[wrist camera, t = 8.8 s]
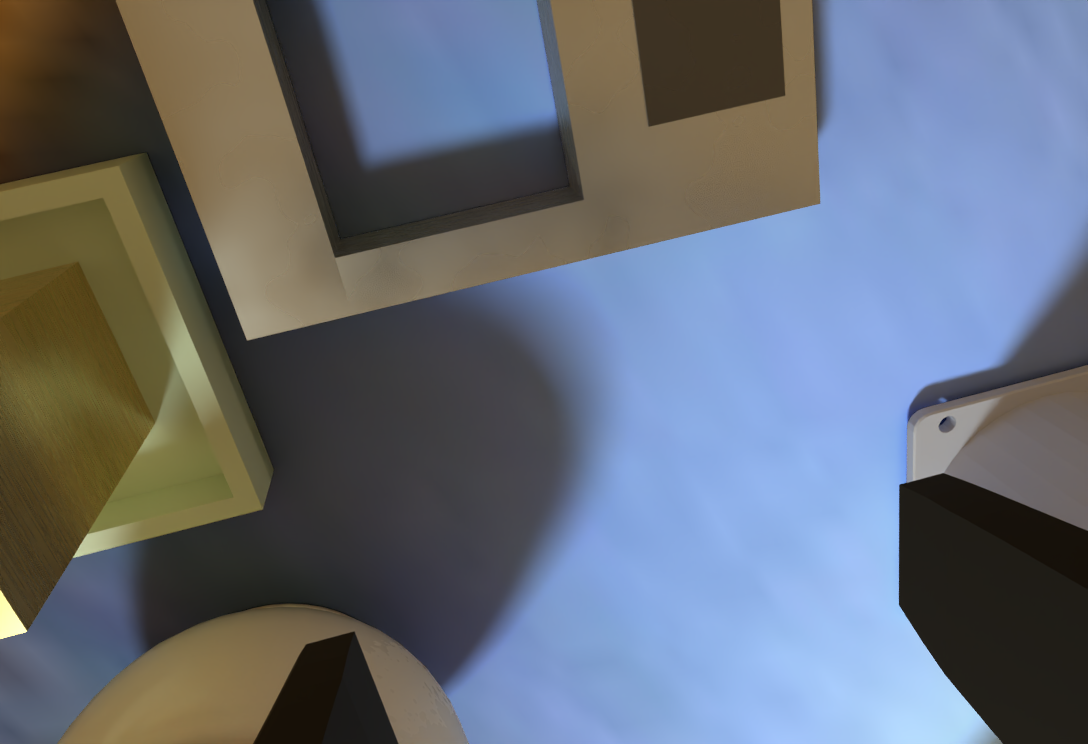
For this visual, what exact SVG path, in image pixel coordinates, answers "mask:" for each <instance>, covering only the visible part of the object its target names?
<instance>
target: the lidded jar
mask: <svg viewBox="0 0 1088 744" xmlns="http://www.w3.org/2000/svg"><path fill="white" fill-rule="evenodd" d="M353 631H355V634H356V636H357V639H358V641H359V644H360V646H361V649H362V652H363V654H364V657H365V659H366V662H367V664H368V667H369V669H370V672H371V675H372V677H373V680H374V682H375V685H376V687H377V690H378V693H379V695H380V698H381V700H382V703H383V705H384V708H385V710H386V713H387V716H388V718H389V721H390V723H391V726H392V728H393V731H394V734H395V736H396V739H397V741H398V744H469V743H468V740H467V738H466V735H465V733H464V730H463V728H462V725H461V723H460V720H459V718H458V716H457V714H456V712H455V710H454V708H453V706H452V704H451V701H450V700H449V699H448V697H447V696H446V694H445V693H444V691H443V690H442V688H441V687H440V685H439V684H438V682H437V681H436V680H435V678H434V677H433V676H432V674H431V673H430V672H429V671H428V669H427V668H426V667H425V666H424V665H423V664H422V663H421V662H420V661H419V660H418V659H417V658H416V657H414V656H413V655H412V654H411V653H410V652H409V651H408V650H407V649H405V648H404V647H403V646H402V645H401V644H400V643H399V642H397V641H395V640H394V639H392V638H391V637H389V636H388V635H386V634H385V633H383V632H382V631H380V630H378V629H376V628H374V627H372V626H369V625H367V624H365V623H363V622H361V621H358V620H356V619H354V618H352V617H350V616H348V615H346V614H343V613H341V612H339V611H335V610H332V609H329V608H325V607H321V606H315V605H309V604H295V603H284V604H272V605H265V606H261V607H256V608H251V609H248V610H245V611H241V612H237V613H232V614H227V615H223V616H220V617H217V618H214V619H211V620H208V621H205V622H202V623H199V624H197V625H195V626H193V627H191V628H189V629H187V630H185V631H183V632H181V633H179V634H177V635H175V636H173V637H171V638H169V639H167V640H165V641H163V642H161V643H159V644H157V645H156V646H154V647H153V648H152V649H150V650H149V651H147V652H146V653H144V654H143V655H141V656H140V657H139V658H137V659H136V660H134V661H133V662H132V663H131V664H130V665H128V666H127V667H126V668H125V669H124V670H122V671H121V672H120V673H119V674H118V675H116V676H115V677H114V678H113V679H112V680H111V681H110V682H109V683H108V684H107V685H106V686H105V687H104V688H103V689H102V690H101V691H100V692H99V693H98V694H97V695H95V696H94V697H93V699H92V700H91V701H90V702H89V703H88V705H87V706H86V707H85V708H84V709H83V711H82V712H81V713H80V714H79V715H78V716H77V718H76V719H75V720H74V721H73V722H72V724H71V725H70V726H69V728H68V729H67V730H66V732H65V733H64V735H63V736H62V737H61V739H60V740H59V742H58V743H57V744H253V743H254V741H255V739H256V737H257V735H258V733H259V731H260V729H261V728H262V726H263V724H264V722H265V720H266V718H267V716H268V714H269V712H270V710H271V709H272V707H273V705H274V703H275V701H276V699H277V697H278V695H279V693H280V691H281V689H282V687H283V685H284V683H285V681H286V679H287V677H288V675H289V674H290V672H291V670H292V668H293V666H294V664H295V662H296V660H297V658H298V656H299V654H300V653H301V651H302V650H303V648H304V647H305V645H306V644H309V643H312V642H316V641H320V640H324V639H327V638H331V637H335V636H339V635H342V634H346V633H350V632H353Z"/></svg>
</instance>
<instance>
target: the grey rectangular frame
mask: <svg viewBox="0 0 1088 744" xmlns="http://www.w3.org/2000/svg"><path fill="white" fill-rule="evenodd" d="M116 3H117V5H118V8H119V11H120V13H121V16H122V18H123V21H124V23H125V26H126V29H127V31H128V34H129V36H130V39H131V42H132V44H133V47H134V49H135V52H136V55H137V57H138V60H139V62H140V65H141V67H142V70H143V73H144V75H145V78H146V80H147V83H148V86H149V88H150V91H151V93H152V96H153V98H154V101H155V104H156V106H157V109H158V111H159V114H160V117H161V119H162V122H163V124H164V127H165V130H166V132H167V135H168V137H169V140H170V142H171V145H172V148H173V150H174V153H175V155H176V158H177V161H178V163H179V166H180V168H181V171H182V173H183V176H184V179H185V181H186V184H187V186H188V189H189V192H190V194H191V197H192V199H193V202H194V205H195V207H196V210H197V212H198V215H199V217H200V220H201V223H202V225H203V228H204V230H205V233H206V236H207V238H208V241H209V243H210V246H211V248H212V251H213V254H214V256H215V259H216V261H217V264H218V267H219V269H220V272H221V274H222V277H223V280H224V282H225V285H226V287H227V290H228V292H229V295H230V298H231V300H232V303H233V305H234V308H235V311H236V313H237V316H238V318H239V321H240V323H241V326H242V329H243V331H244V334H245V336H246V339H247V340H251V339H256V338H260V337H264V336H268V335H272V334H277V333H281V332H285V331H289V330H293V329H297V328H302V327H306V326H310V325H314V324H318V323H323V322H327V321H331V320H335V319H339V318H343V317H348V316H352V315H356V314H360V313H364V312H369V311H373V310H377V309H381V308H385V307H389V306H394V305H398V304H402V303H406V302H410V301H415V300H419V299H423V298H427V297H431V296H435V295H440V294H444V293H448V292H452V291H456V290H461V289H465V288H469V287H473V286H477V285H481V284H486V283H490V282H494V281H498V280H502V279H506V278H511V277H515V276H519V275H523V274H527V273H532V272H536V271H540V270H544V269H548V268H552V267H557V266H561V265H565V264H569V263H573V262H578V261H582V260H586V259H590V258H594V257H598V256H603V255H607V254H611V253H615V252H619V251H624V250H628V249H632V248H636V247H640V246H644V245H649V244H653V243H657V242H661V241H665V240H670V239H674V238H678V237H682V236H686V235H690V234H695V233H699V232H703V231H707V230H711V229H716V228H720V227H724V226H728V225H732V224H736V223H741V222H745V221H749V220H753V219H757V218H762V217H766V216H770V215H774V214H778V213H782V212H787V211H791V210H795V209H799V208H803V207H808V206H812V205H816V204H820V186H819V161H818V137H817V112H816V87H815V63H814V38H813V13H812V0H537V5H538V11H539V17H540V22H541V28H542V34H543V39H544V45H545V50H546V56H547V62H548V67H549V73H550V79H551V84H552V90H553V96H554V101H555V107H556V112H557V118H558V124H559V129H560V135H561V141H562V146H563V152H564V158H565V163H566V169H567V174H568V180H569V186H568V187H564V188H560V189H556V190H551V191H547V192H543V193H538V194H534V195H530V196H525V197H521V198H517V199H512V200H508V201H504V202H499V203H495V204H491V205H486V206H482V207H478V208H474V209H469V210H465V211H461V212H456V213H452V214H448V215H443V216H439V217H435V218H430V219H426V220H422V221H417V222H413V223H409V224H405V225H400V226H396V227H392V228H387V229H383V230H379V231H374V232H370V233H366V234H361V235H357V236H353V237H348V238H344V239H340V237H339V234H338V231H337V228H336V224H335V221H334V218H333V215H332V212H331V208H330V205H329V202H328V199H327V196H326V192H325V189H324V186H323V183H322V180H321V176H320V173H319V170H318V167H317V164H316V160H315V157H314V154H313V151H312V148H311V144H310V141H309V138H308V135H307V132H306V128H305V125H304V122H303V119H302V116H301V112H300V109H299V106H298V103H297V100H296V96H295V93H294V90H293V87H292V83H291V80H290V77H289V74H288V71H287V67H286V64H285V61H284V58H283V55H282V51H281V48H280V45H279V42H278V39H277V35H276V32H275V29H274V26H273V23H272V19H271V16H270V13H269V10H268V7H267V3H266V0H116Z"/></svg>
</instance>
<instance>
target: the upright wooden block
mask: <svg viewBox="0 0 1088 744" xmlns="http://www.w3.org/2000/svg"><path fill="white" fill-rule="evenodd" d="M154 425H155V421H154V419H153V417H152V415H151V413H150V411H149V409H148V406H147V404H146V402H145V400H144V398H143V396H142V394H141V392H140V390H139V388H138V386H137V383H136V381H135V379H134V377H133V375H132V373H131V371H130V369H129V367H128V365H127V363H126V360H125V358H124V356H123V354H122V352H121V350H120V348H119V346H118V344H117V342H116V339H115V337H114V335H113V333H112V331H111V329H110V327H109V325H108V323H107V321H106V319H105V316H104V314H103V312H102V310H101V308H100V306H99V304H98V302H97V300H96V298H95V295H94V293H93V291H92V289H91V287H90V285H89V283H88V281H87V279H86V277H85V275H84V272H83V270H82V268H81V266H80V264H79V262H74V263H70V264H66V265H61V266H57V267H53V268H49V269H45V270H40V271H36V272H32V273H28V274H24V275H19V276H15V277H11V278H7V279H3V280H0V639H2V638H6V637H9V636H13V635H17V634H20V633H24V632H27V631H28V629H29V628H30V626H31V625H32V623H33V621H34V620H35V618H36V616H37V615H38V613H39V612H40V610H41V608H42V607H43V605H44V603H45V602H46V600H47V599H48V597H49V595H50V594H51V592H52V590H53V589H54V587H55V586H56V584H57V582H58V581H59V579H60V577H61V576H62V574H63V573H64V571H65V569H66V568H67V566H68V564H69V563H70V561H71V560H72V558H73V556H74V555H75V553H76V551H77V550H78V548H79V547H80V545H81V543H82V542H83V540H84V538H85V537H86V535H87V534H88V532H89V530H90V529H91V527H92V525H93V524H94V522H95V521H96V519H97V517H98V516H99V514H100V512H101V511H102V509H103V508H104V506H105V504H106V503H107V501H108V499H109V498H110V496H111V495H112V493H113V491H114V490H115V488H116V486H117V485H118V483H119V482H120V480H121V478H122V477H123V475H124V473H125V472H126V470H127V469H128V467H129V465H130V464H131V462H132V460H133V459H134V457H135V456H136V454H137V452H138V451H139V449H140V447H141V446H142V444H143V443H144V441H145V439H146V438H147V436H148V434H149V433H150V431H151V430H152V428H153V426H154Z"/></svg>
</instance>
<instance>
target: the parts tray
mask: <svg viewBox="0 0 1088 744" xmlns="http://www.w3.org/2000/svg"><path fill="white" fill-rule="evenodd" d="M74 262H79V264H80V266H81V268H82V270H83V272H84V275H85V277H86V279H87V281H88V283H89V285H90V287H91V289H92V291H93V293H94V295H95V298H96V300H97V302H98V304H99V306H100V308H101V310H102V312H103V314H104V316H105V319H106V321H107V323H108V325H109V327H110V329H111V331H112V333H113V335H114V337H115V339H116V342H117V344H118V346H119V348H120V350H121V352H122V354H123V356H124V358H125V360H126V363H127V365H128V367H129V369H130V371H131V373H132V375H133V377H134V379H135V381H136V383H137V386H138V388H139V390H140V392H141V394H142V396H143V398H144V400H145V402H146V404H147V406H148V409H149V411H150V413H151V415H152V417H153V419H154V421H155V425H154V426H153V428H152V430H151V431H150V433H149V434H148V436H147V438H146V439H145V441H144V443H143V444H142V446H141V447H140V449H139V451H138V452H137V454H136V456H135V457H134V459H133V460H132V462H131V464H130V465H129V467H128V469H127V470H126V472H125V473H124V475H123V477H122V478H121V480H120V482H119V483H118V485H117V486H116V488H115V490H114V491H113V493H112V495H111V496H110V498H109V499H108V501H107V503H106V504H105V506H104V508H103V509H102V511H101V512H100V514H99V516H98V517H97V519H96V521H95V522H94V524H93V525H92V527H91V529H90V530H89V532H88V534H87V535H86V537H85V538H84V540H83V542H82V543H81V545H80V547H79V548H78V550H77V551H76V553H75V555H74V556H73V558H75V557H78V556H82V555H86V554H90V553H94V552H98V551H102V550H106V549H110V548H114V547H118V546H122V545H125V544H129V543H133V542H137V541H141V540H145V539H149V538H153V537H157V536H161V535H165V534H169V533H172V532H176V531H180V530H184V529H188V528H192V527H196V526H200V525H204V524H208V523H212V522H216V521H220V520H223V519H227V518H231V517H235V516H239V515H243V514H247V513H251V512H255V511H259V510H263V507H264V504H265V500H266V497H267V493H268V490H269V486H270V482H271V479H272V475H273V472H274V469H273V466H272V464H271V461H270V459H269V456H268V454H267V451H266V449H265V446H264V444H263V441H262V439H261V436H260V434H259V431H258V429H257V426H256V424H255V421H254V419H253V416H252V414H251V411H250V409H249V406H248V404H247V401H246V399H245V396H244V394H243V391H242V389H241V386H240V384H239V381H238V379H237V376H236V374H235V372H234V369H233V367H232V364H231V362H230V359H229V357H228V354H227V352H226V349H225V347H224V344H223V342H222V339H221V337H220V334H219V332H218V329H217V327H216V324H215V322H214V319H213V317H212V314H211V312H210V309H209V307H208V304H207V302H206V299H205V297H204V294H203V292H202V289H201V287H200V284H199V282H198V279H197V277H196V274H195V272H194V269H193V267H192V264H191V262H190V259H189V257H188V255H187V252H186V250H185V247H184V245H183V242H182V240H181V237H180V235H179V232H178V230H177V227H176V225H175V222H174V220H173V217H172V215H171V212H170V210H169V207H168V205H167V202H166V200H165V197H164V195H163V192H162V190H161V187H160V185H159V182H158V180H157V177H156V175H155V172H154V170H153V167H152V165H151V162H150V160H149V157H148V155H147V152H145V153H140V154H136V155H131V156H126V157H122V158H117V159H113V160H108V161H104V162H99V163H95V164H90V165H85V166H81V167H76V168H72V169H67V170H63V171H58V172H54V173H49V174H45V175H40V176H35V177H31V178H26V179H22V180H17V181H13V182H8V183H4V184H0V280H3V279H7V278H11V277H15V276H19V275H24V274H28V273H32V272H36V271H40V270H45V269H49V268H53V267H57V266H61V265H66V264H70V263H74Z"/></svg>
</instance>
